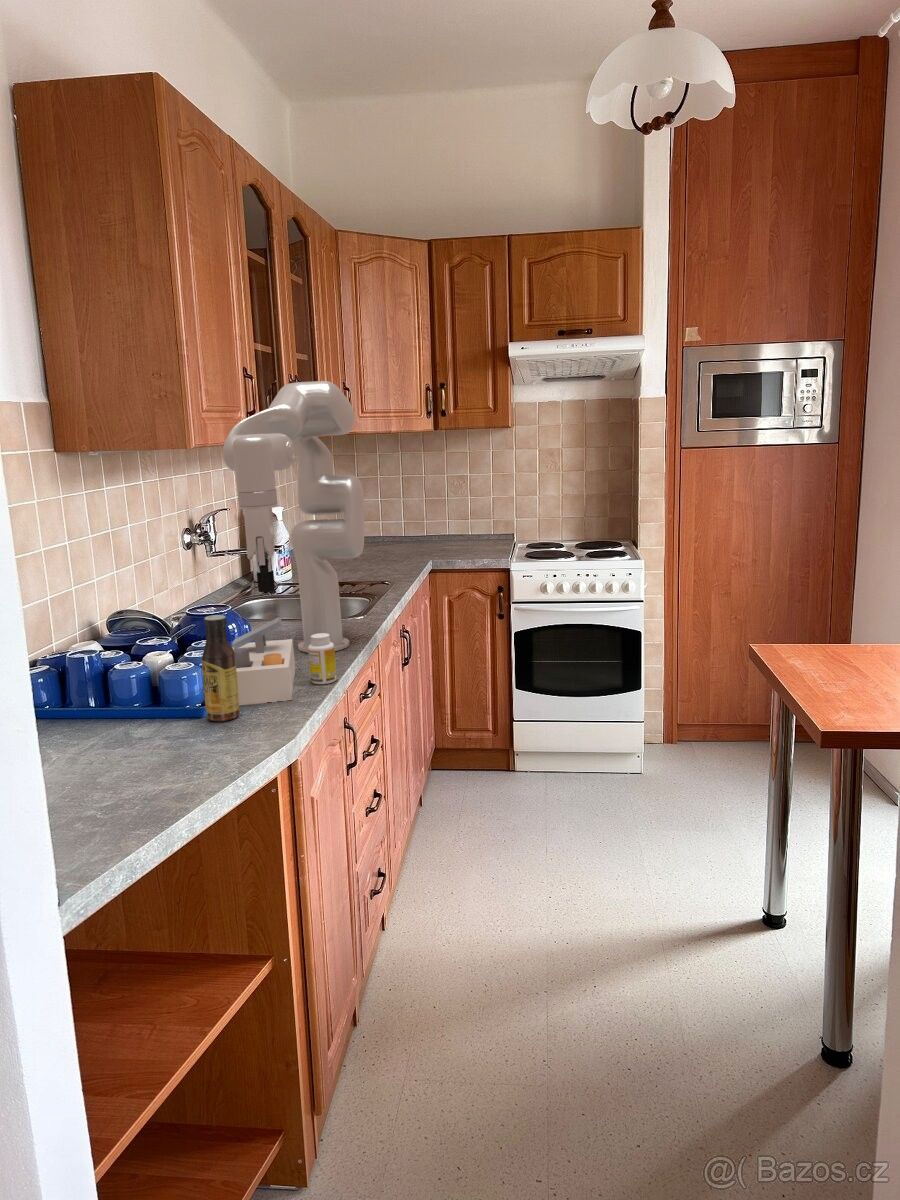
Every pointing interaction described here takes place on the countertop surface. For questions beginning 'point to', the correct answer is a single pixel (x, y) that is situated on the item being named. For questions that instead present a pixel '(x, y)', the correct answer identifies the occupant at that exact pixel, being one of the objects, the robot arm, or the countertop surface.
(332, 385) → the robot arm
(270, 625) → the rocker
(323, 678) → the supplement bottle
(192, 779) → the countertop surface
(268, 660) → the button orange
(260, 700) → the panel
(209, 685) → the sauce bottle
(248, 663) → the button charcoal
